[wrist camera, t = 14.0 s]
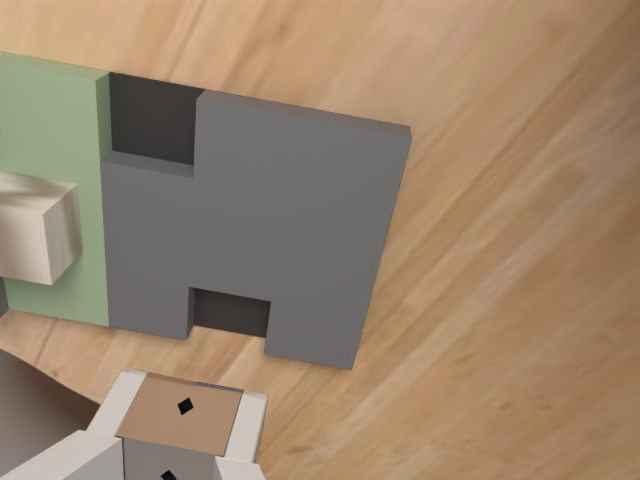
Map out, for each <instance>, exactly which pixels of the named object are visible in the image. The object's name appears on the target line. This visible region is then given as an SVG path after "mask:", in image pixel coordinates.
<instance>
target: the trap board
mask: <svg viewBox="0 0 640 480" xmlns="http://www.w3.org/2000/svg"><path fill="white" fill-rule="evenodd" d="M411 140H412V135H411V130H410V127H409V126H404V125H398V124H393V123H387V122H382V121H376V120H371V119H365V118H360V117H355V116H349V115H344V114H338V113H333V112H327V111H322V110H316V109H311V108H305V107H300V106H294V105H289V104H283V103H278V102H273V101H267V100H262V99H256V98H251V97H245V96H240V95H234V94H229V93H223V92H218V91H212V90H207V89H201V88H196V87H190V86H185V85H180V84H174V83H169V82H163V81H158V80H152V79H147V78H141V77H136V76H130V75H125V74H119V73H114V72H108V71H103V70H98V69H92V68H87V67H81V66H76V65H70V64H65V63H59V62H54V61H48V60H43V59H37V58H32V57H26V56H21V55H16V54H10V53H5V52H0V170H1V171H6V172H12V173H18V174H23V175H29V176H35V177H40V178H46V179H52V180H57V181H63V182H69V183H74V184H77V185H78V197H79V209H80V221H81V232H82V244H83V251H82V252H81V253H80V254H79V255H78V256H77V257H76V259H75V260H74V261H73V262H72V263H71V264H70V265H69V266H68V268H67V269H66V270H65V271H64V272H63V273H62V274H61V275H60V277H59V278H58V279H57V280H56V281H55V282H54V283H53V284H52V285H47V284H41V283H35V282H30V281H24V280H18V279H13V278H7V277H1V276H0V318H1V317H2V316H3V315H4V314H5V313H6V311H7V310H8V309H12V310H18V311H24V312H29V313H35V314H40V315H46V316H52V317H57V318H63V319H68V320H74V321H80V322H85V323H91V324H96V325H102V326H108V327H113V328H119V329H124V330H130V331H136V332H141V333H147V334H152V335H158V336H164V337H169V338H175V339H180V340H187V338H188V336H189V334H190V332H191V329H192V327H193V325H197V326H203V327H208V328H214V329H220V330H225V331H231V332H236V333H242V334H248V335H253V336H259V337H264V338H266V342H265V349H264V354H265V355H270V356H276V357H281V358H287V359H293V360H298V361H304V362H309V363H315V364H321V365H326V366H332V367H337V368H343V369H349V370H352V368H353V364H354V360H355V356H356V352H357V348H358V344H359V341H360V337H361V333H362V329H363V325H364V321H365V318H366V314H367V310H368V306H369V302H370V298H371V294H372V291H373V287H374V283H375V279H376V275H377V271H378V267H379V264H380V260H381V256H382V252H383V248H384V244H385V241H386V237H387V233H388V229H389V225H390V221H391V217H392V214H393V210H394V206H395V202H396V198H397V194H398V190H399V187H400V183H401V179H402V175H403V171H404V167H405V164H406V160H407V156H408V152H409V148H410V144H411Z"/></svg>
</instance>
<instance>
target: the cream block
mask: <svg viewBox="0 0 640 480" xmlns="http://www.w3.org/2000/svg"><path fill="white" fill-rule="evenodd" d="M82 251H83V244H82V232H81V221H80V209H79V197H78V185H77V184H74V183H69V182H63V181H57V180H52V179H46V178H40V177H35V176H29V175H23V174H18V173H12V172H6V171H1V170H0V276H1V277H7V278H13V279H18V280H24V281H30V282H35V283H41V284H47V285H52V284H53V283H54V282H55V281H56V280H57V279H58V278H59V277H60V275H61V274H62V273H63V272H64V271H65V270H66V269H67V268H68V266H69V265H70V264H71V263H72V262H73V261H74V260H75V259H76V257H77V256H78V255H79V254H80V253H81V252H82Z"/></svg>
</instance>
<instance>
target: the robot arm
mask: <svg viewBox="0 0 640 480" xmlns="http://www.w3.org/2000/svg"><path fill="white" fill-rule="evenodd" d="M267 403H268V395H267V394H262V393H256V392H251V391H245V390H241V389H236V388H230V387H225V386H219V385H213V384H208V383H202V382H193V381H188V380H184V379H179V378H175V377H170V376H165V375H161V374H156V373H152V372H145V371H141V370H136V369H131V368H125V369H124V370H122V371H121V372H120V373H119V375H118V377H117V378H116V380H115V382H114V384H113V385H112V387H111V389H110V390H109V392H108V394H107V396H106V397H105V399H104V401H103V402H102V404H101V406H100V408H99V409H98V411H97V413H96V414H95V416H94V418H93V420H92V421H91V423H90V425H89V426H88V428H87V430H86V431H81V430H77V431H76V432H74V433H73V434H71V435H69V436H68V437H66V438H64V439H63V440H61V441H60V442H58V443H56V444H55V445H53V446H51V447H50V448H48V449H46V450H45V451H43V452H42V453H40V454H38V455H37V456H35V457H33V458H32V459H30V460H28V461H27V462H25V463H23V464H22V465H20V466H18V467H17V468H15V469H14V470H12V471H10V472H9V473H7V474H6V475H4V476H2V477H1V478H0V480H266V479H265V476H264V474H263V472H262V469H261V467H260V464H257V460H258V456H259V450H260V445H261V439H262V433H263V427H264V421H265V415H266V409H267Z"/></svg>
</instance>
